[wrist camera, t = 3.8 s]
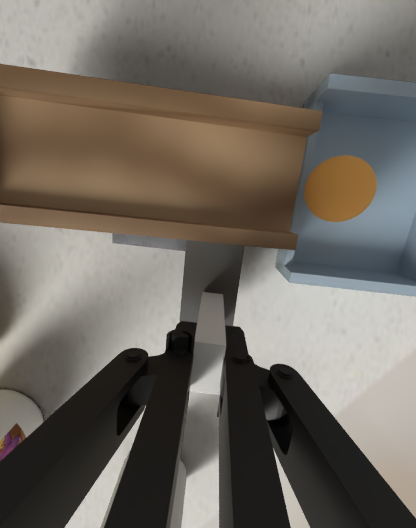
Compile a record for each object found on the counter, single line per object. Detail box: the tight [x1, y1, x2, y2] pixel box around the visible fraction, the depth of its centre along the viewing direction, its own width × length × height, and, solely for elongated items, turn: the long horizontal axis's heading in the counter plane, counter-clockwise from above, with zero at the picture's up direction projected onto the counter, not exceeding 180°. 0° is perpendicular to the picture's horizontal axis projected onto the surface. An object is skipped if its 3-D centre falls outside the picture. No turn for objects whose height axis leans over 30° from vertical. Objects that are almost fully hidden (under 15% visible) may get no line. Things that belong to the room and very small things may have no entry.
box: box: [275, 73, 416, 297], centre depth 17 cm, size 14×11×8 cm
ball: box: [304, 155, 377, 222], centre depth 16 cm, size 4×4×4 cm
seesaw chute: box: [0, 64, 323, 326], centre depth 16 cm, size 16×20×3 cm
